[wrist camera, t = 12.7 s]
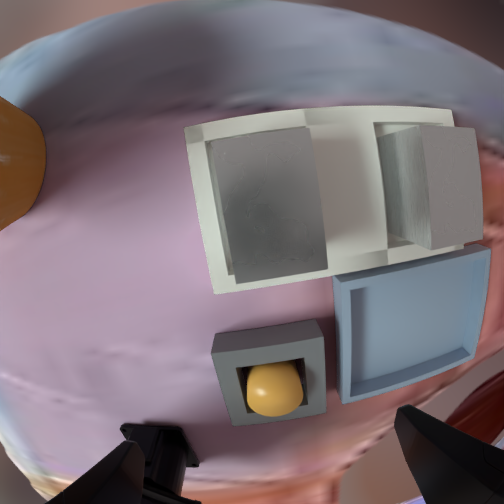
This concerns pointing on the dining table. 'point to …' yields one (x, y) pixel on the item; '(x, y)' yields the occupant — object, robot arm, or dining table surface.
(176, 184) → the dining table surface
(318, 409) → the grey square frame
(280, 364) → the button
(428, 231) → the billet
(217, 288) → the white divided tray
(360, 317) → the tray
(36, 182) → the flower pot
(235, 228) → the block
